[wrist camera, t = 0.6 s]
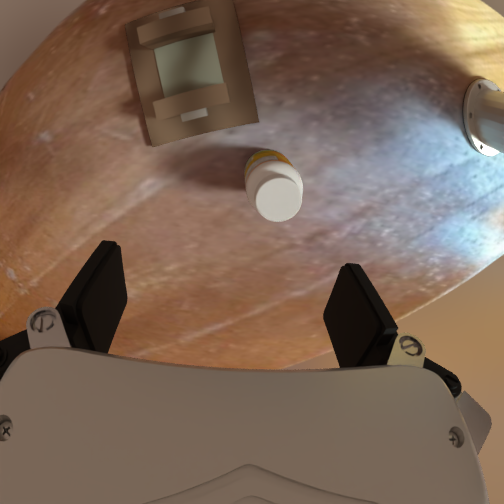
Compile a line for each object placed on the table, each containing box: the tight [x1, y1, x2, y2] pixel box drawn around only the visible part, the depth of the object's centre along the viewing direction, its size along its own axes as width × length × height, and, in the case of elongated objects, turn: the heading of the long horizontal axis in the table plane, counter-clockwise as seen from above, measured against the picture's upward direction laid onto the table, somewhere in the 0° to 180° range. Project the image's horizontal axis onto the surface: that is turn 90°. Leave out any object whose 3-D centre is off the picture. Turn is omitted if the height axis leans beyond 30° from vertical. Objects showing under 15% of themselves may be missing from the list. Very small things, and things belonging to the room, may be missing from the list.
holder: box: [125, 0, 259, 147], centre depth 22 cm, size 12×16×5 cm
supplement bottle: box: [244, 150, 303, 222], centre depth 27 cm, size 5×5×10 cm
